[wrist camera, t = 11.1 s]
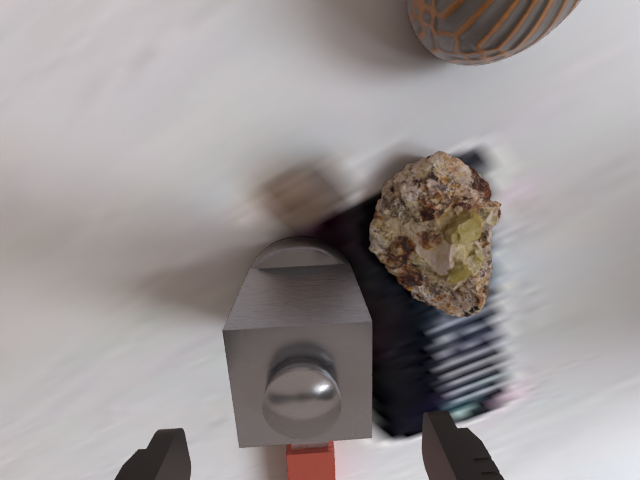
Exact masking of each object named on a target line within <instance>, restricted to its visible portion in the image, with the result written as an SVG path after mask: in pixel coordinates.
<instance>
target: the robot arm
mask: <svg viewBox="0 0 640 480" xmlns="http://www.w3.org/2000/svg"><path fill="white" fill-rule="evenodd" d="M422 455H423V461H424V465H425V469H426V472H427V474H428V477H429V480H504V478H503V477H502V475H500V473H499V470H498V468H497V466H496V465H495V463H494V461H492V459H491V456H490V455H489V453H488V451H487V449H486V448H485V446H484V444H483V443H482V441H481V440H480V439H479V438H478V437H477V436H476V435H474V434H473V433H472V432H471V431H470V430H469V429H468V428H457V427H456V425H455V423H454V421H453V419H452V417H451V416H450V414H449V413H448V412H447V411H438V412H425V413H424V415H423V432H422ZM190 475H191V461H190V456H189V452H188V447H187V442H186V437H185V433H184V430H183V429H182V428H176V429H161V430H158V431H156V433H155V434H154V436H153V438H152V440H151V441H150V443H149V445H148V447H147V449H138V450H137V451H136V452H135V454H134V455H133V456H132V457H131V458H130V459H129V460H128V461H127V462H126V463H125V464H124V465H123V466H122V468H121V469H120V471H119V473H118V475H117V476H116V478H115V480H190Z"/></svg>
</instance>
